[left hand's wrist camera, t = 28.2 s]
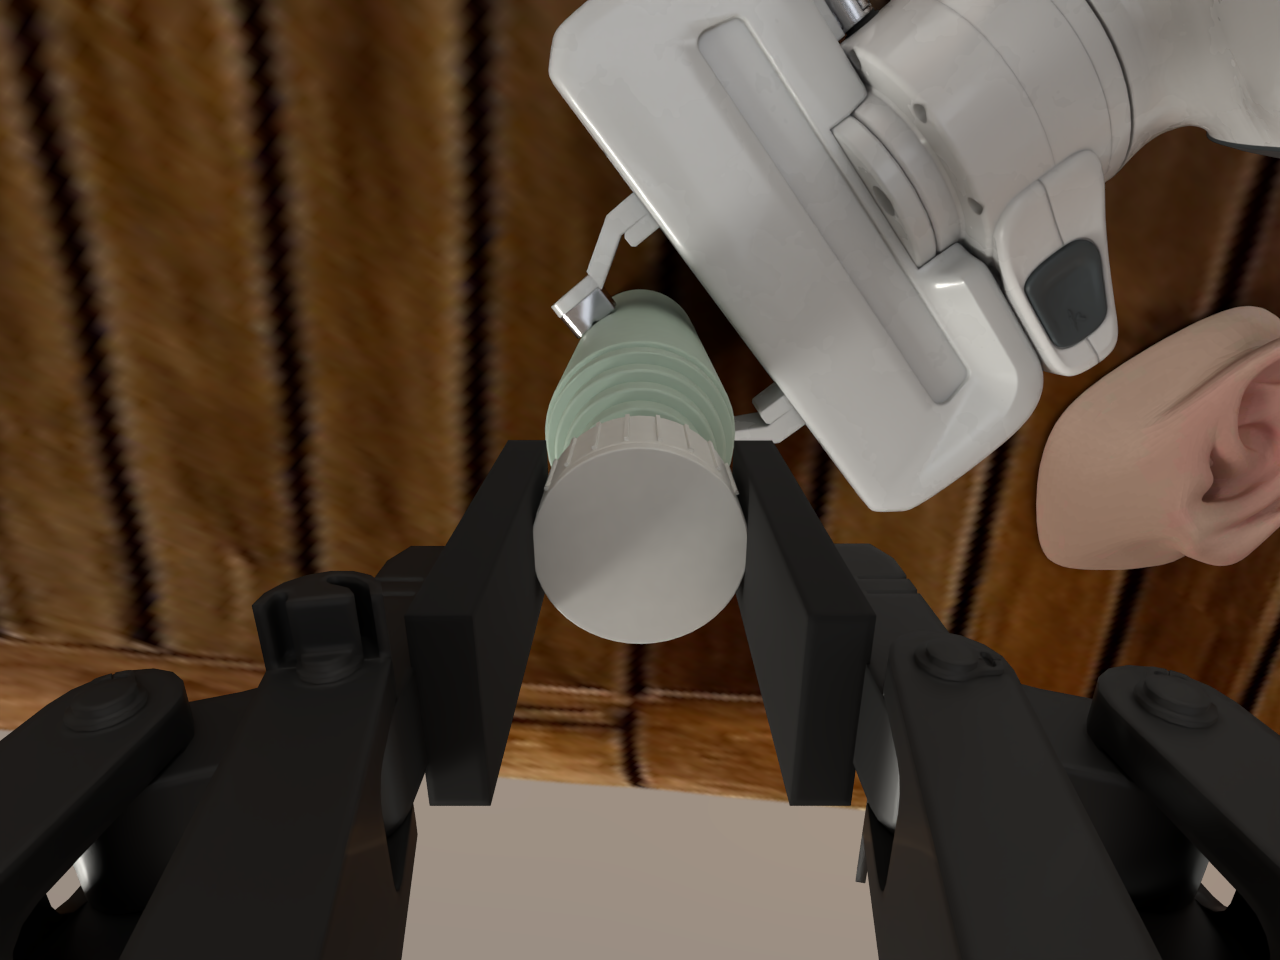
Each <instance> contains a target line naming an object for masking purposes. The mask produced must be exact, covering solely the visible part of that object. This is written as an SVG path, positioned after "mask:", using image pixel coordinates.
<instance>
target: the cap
mask: <svg viewBox="0 0 1280 960" xmlns="http://www.w3.org/2000/svg"><path fill="white" fill-rule="evenodd" d="M544 490H545V491H544V493H543V496H542V499H541V502H540V505H539V508H538V511H537V513H536V518H535V522H534V525H533V539H534V556H535V571H536V575H537V578H538V580H539V582H540V584H541V587H542V589H543V590H544V592H545V593H546V595H547V597H548V598H549V600H550V601H551V602H552V603H553V604H554V606H555V607H556V608H557V609H558V610H559V611H560V612H561V613H562V614H563V615H564V616H565V617H566V618H567V619H569V620H570V621H572V622H573V623H574V624H576V625H577V626H579V627H581V628H582V629H584V630H586V631H588V632H590V633H592V634H595V635H597V636H600V637H602V638H606V639H609V640H613V641H618V642H624V643H636V644H645V643H657V642H662V641H668V640H671V639H674V638H678V637H681V636H683V635H686V634H688V633H690V632H693V631H694V630H696V629H698V628H700V627H701V626H703V625H705V624H706V623H707V622H709V621H710V620H711V619H713V618H714V617H715V616H716V615H717V614H718V613H719V612H720V611H721V610H722V609H723V608H724V607H725V606H726V605H727V604H728V602H729V601H730V600H731V599H732V597H733V596H734V594H735V592H736V591H737V589H738V587H739V585H740V583H741V581H742V578H743V576H744V573H745V563H746V547H747V524H746V521H745V517H744V514H743V511H742V508H741V506H740V503H739V500H738V497H737V495H738V494H739V492H738V489H737V486H736V484H735V481H734V478H733V475H732V473H731V470H730V467H729V465H728V463H725V464H724V462H723V460H722V459H721V457H720V456H719V454H718V453H717V451H716V450H715V449H714V446H713V443H712V442H711V441H710V440H709V441H708V442H707V441H706V440H705V439H704V438H703V437H701V436H700V435H699V434H697V433H696V432H694V431H693V430H691V429H690V428H689V425H687V424H684V426H683V425H681V424H679V423H677V422H674V421H671V420H668V419H664V418H660V415H656V417H653V416H630V414H625V417H621V418H617V419H612V420H609V421H606V422H604V423H601V422H597V423H596V426H595V427H593V428H591V429H589V430H587V431H586V432H585V433H583V434H582V435H580V436H579V437H578V438H575V437H574V438H572V439H571V443H570V445H569V446H568V447H567V448H566V450H565V451H564V452H563V453H562V454H561V456H560V458H559V459H558V460H557V459H555V460H554V461H553V464H552V467H551V470H550V473H549V475H548V478H547V481H546V484H545V487H544Z"/></svg>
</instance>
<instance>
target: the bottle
mask: <svg viewBox="0 0 1280 960" xmlns="http://www.w3.org/2000/svg"><path fill="white" fill-rule="evenodd" d="M612 298H613V299H614V301H615V302H616V307H615V309H614V310H613V311H612V312H611V313H610V314H608V315H607V316H606V317H605V318H603V319H601V320H600V321H594V323H593V325H592V327H591V328H590V329H589V330H588V331H587V332H586V333H585V334H584V335H583V336H582V338H581V340H580V342H579V344H578V346H577V348H576V350H575V352H574V354H573V356H572V358H571V360H570V362H569V364H568V366H567V368H566V370H565V372H564V374H563V376H562V378H561V380H560V382H559V384H558V386H557V388H556V390H555V392H554V394H553V397H552V399H551V402H550V404H549V408H548V412H547V417H546V426H545V436H546V444H547V451H548V456H549V461H550V465H551V467H552V464H553V461H554V460H555V459H557V460H558V459H559V458H560V456H561V454H562V453H563V452H564V451H565V450H566V448H567V447H568V446H569V445H570V443H571V439H572V438H574V437H575V438H578V437H579V436H580V435H582V434H583V433H585V432H586V431H587V430H589V429H591V428H593V427H595V426H596V423H597V422H601V423H604V422H606V421H609V420H612V419H617V418H621V417H625V414H630V416H653V417H656V415H660V418H664V419H668V420H671V421H674V422H677V423H679V424H681V425H683V426H684V424H687V425H689V428H690V429H691V430H693V431H694V432H696V433H697V434H699V435H700V436H701V437H703V438H704V439H705V440H706V441H707V442H708V441H709V440H710V441H711V442H712V443H713V446H714V449H715V450H716V451H717V453H718V454H719V456H720V457H721V459H722V460H723V462H724V464H725V463H728V465H729V466H730V463H731V458H732V453H733V447H734V440H735V421H734V415H733V411H732V407H731V404H730V401H729V398H728V396H727V394H726V392H725V390H724V388H723V385H722V383H721V381H720V379H719V377H718V375H717V373H716V371H715V369H714V367H713V365H712V363H711V361H710V359H709V357H708V355H707V353H706V351H705V349H704V347H703V345H702V343H701V341H700V339H699V337H698V335H697V333H696V331H695V329H694V327H693V325H692V323H691V321H690V319H689V317H688V315H687V314H686V313H685V311H684V310H683V309H682V308H681V307H680V305H679V304H677V303H676V302H675V301H674V300H672V299H671V298H669V297H668V296H666V295H663V294H661V293H659V292H655V291H651V290H642V289H637V290H629V291H625V292H622V293H619V294H617V295H615V296H613V297H612Z"/></svg>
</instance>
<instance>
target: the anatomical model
mask: <svg viewBox="0 0 1280 960" xmlns="http://www.w3.org/2000/svg"><path fill="white" fill-rule="evenodd" d="M1036 512H1037V528H1038V536H1039V540H1040V544H1041V547H1042V549H1043V551H1044V553H1045V555H1046V556H1047V557H1048V558H1049V559H1050V560H1051V561H1052V562H1054V563H1056V564H1058V565H1061V566H1064V567H1068V568H1076V569H1090V570H1124V569H1135V568H1142V567H1150V566H1157V565H1163V564H1166V563H1170V562H1173V561H1175V560H1177V559H1180V558H1182V557H1184V556H1185V555H1186V556H1188V557H1190V558H1193V559H1196V560H1198V561H1201V562H1204V563H1207V564H1211V565H1217V566H1225V565H1231V564H1234V563H1237V562H1238V561H1240V560H1242V559H1244V558H1245V557H1246V556H1247V555H1249V554H1250V553H1251V552H1252V551H1253V550H1255V549H1256V548H1257V547H1258V546H1259V545H1260V544H1261V543H1262V542H1264V541H1265V540H1266V539H1267V538H1268V537H1269V536H1270V535H1271V534H1272V533H1273V532H1274V531H1275V530H1277V529H1278V528H1279V527H1280V319H1279V318H1278V317H1277V316H1275V315H1274V314H1272V313H1271V312H1269V311H1267V310H1265V309H1263V308H1259V307H1253V306H1243V307H1236V308H1232V309H1229V310H1225V311H1222V312H1219V313H1217V314H1214V315H1212V316H1210V317H1207V318H1205V319H1202V320H1200V321H1198V322H1196V323H1194V324H1192V325H1190V326H1188V327H1186V328H1184V329H1182V330H1180V331H1178V332H1176V333H1174V334H1173V335H1171V336H1169V337H1167V338H1165V339H1163V340H1162V341H1160V342H1158V343H1156V344H1154V345H1153V346H1151V347H1149V348H1148V349H1146V350H1144V351H1143V352H1141V353H1140V354H1138V355H1136V356H1135V357H1133V358H1131V359H1130V360H1128V361H1127V362H1125V363H1123V364H1122V365H1120V366H1119V367H1117V368H1116V369H1114V370H1113V371H1112V372H1110V373H1109V374H1107V375H1106V376H1104V377H1103V378H1102V379H1100V380H1099V381H1098V382H1096V383H1095V384H1094V385H1092V386H1091V387H1090V388H1088V389H1087V390H1086V391H1085V392H1083V393H1082V394H1081V395H1080V396H1079V397H1078V398H1077V399H1076V400H1075V401H1074V402H1073V403H1072V404H1071V405H1070V406H1069V407H1068V408H1067V409H1066V410H1065V411H1064V412H1063V414H1062V415H1061V416H1060V418H1059V419H1058V421H1057V422H1056V424H1055V426H1054V427H1053V429H1052V431H1051V433H1050V435H1049V437H1048V440H1047V443H1046V446H1045V448H1044V452H1043V456H1042V460H1041V463H1040V468H1039V475H1038V482H1037V500H1036Z"/></svg>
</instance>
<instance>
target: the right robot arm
mask: <svg viewBox="0 0 1280 960" xmlns="http://www.w3.org/2000/svg"><path fill="white" fill-rule="evenodd" d="M845 33H846V34H847V36H846V37H845V38H846V40H844V41H843V42H842V43H841V44H839V43H838V41H839V40H840V39H841V38H842V37H843V36H844V35H845ZM549 76H550V78H551V80H552V82H553V84H554V86H555V87H556V89H557V90H558V91H559V93H560V94H561V95H562V97H563V98H564V99H565V101H566V102H567V103H568V105H569V106H570V108H571V109H572V110H573V112H574V113H575V114H576V116H577V117H578V118H579V120H580V121H581V122H582V124H583V125H584V126H585V128H586V129H587V130H588V132H589V133H590V135H591V136H592V137H593V139H594V140H595V141H596V143H597V144H598V145H599V147H600V148H601V149H602V151H603V152H604V153H605V155H606V156H607V157H608V159H609V160H610V161H611V163H612V164H613V165H614V167H615V168H616V169H617V171H618V172H619V173H620V175H621V176H622V178H623V179H624V180H625V182H626V183H627V184H628V186H629V187H630V188H631V190H632V191H633V193H632V194H631V195H630V196H628V197H627V198H626V199H625V200H624V201H623V202H621V203H620V204H619V205H618V206H617V207H616V208H615V209H613V210H612V211H611V212H610V213H609V214H608V215H607V216H606V219H605V222H604V224H603V227H602V230H601V233H600V236H599V238H598V241H597V244H596V247H595V250H594V253H593V255H592V258H591V261H590V264H589V267H588V270H587V273H588V275H587V276H586V277H585V278H584V279H583V280H581V281H580V282H579V283H578V284H577V285H575V286H574V287H573V288H572V289H571V290H570V291H568V292H567V293H566V294H565V295H564V296H563V297H561V298H560V299H559V300H558V301H557V302H556V303H555V304H554V305H553V306H552V309H553V310H554V311H555V313H556V314H557V315H558V316H559V318H560V319H561V320H562V321H563V322H564V323H565V324H566V326H567V327H568V328H569V329H570V330H571V331H572V333H573V334H574V335H575V336H576V337H577V338H580V337H581V336H583V335H584V334H585V333H586V332H587V331H588V330H589V329H590V328H591V327H592V325H593V323H594V321H600V320H601V319H603V318H605V317H606V316H607V315H608V314H610V313H611V312H612V311H613V310H614V309H615V307H616V302H615V301H614V299H613V298H612V297H611V295H610V294H609V293H608V291H607V290H606V289H605V287H604V283H605V280H606V278H607V275H608V272H609V270H610V267H611V264H612V262H613V259H614V256H615V253H616V251H617V248H618V245H619V243H620V240H621V237H622V235H623V234H624V233H625V239H626V240H627V242H628V243H629V244H630V245H631V246H634V247H636V246H637V245H638V244H639V243H641V242H642V241H643V240H644V239H646V238H647V237H648V236H649V235H651V234H652V233H653V232H654V231H655V230H657V229H658V228H659V227H660V229H661V230H662V231H663V233H664V234H665V235H666V237H667V238H668V239H669V241H670V242H671V244H672V245H673V246H674V248H675V249H676V250H677V252H678V253H679V254H680V256H681V257H682V258H683V260H684V261H685V262H686V264H687V265H688V266H689V268H690V269H691V270H692V272H693V273H694V275H695V276H696V277H697V279H698V280H699V281H700V283H701V284H702V285H703V287H704V288H705V289H706V291H707V292H708V293H709V295H710V296H711V297H712V299H713V300H714V301H715V303H716V304H717V306H718V307H719V308H720V310H721V311H722V312H723V314H724V315H725V316H726V318H727V319H728V320H729V322H730V323H731V324H732V326H733V327H734V328H735V330H736V331H737V332H738V334H739V335H740V337H741V338H742V339H743V341H744V342H745V343H746V345H747V346H748V347H749V349H750V350H751V351H752V353H753V354H754V355H755V357H756V358H757V359H758V361H759V362H760V363H761V365H762V366H763V367H764V369H765V370H766V372H767V373H768V374H769V376H770V377H771V378H772V380H773V381H774V383H772V384H771V385H770V386H769V387H767V388H766V389H765V390H763V391H762V392H761V393H759V394H758V395H757V396H756V397H754V398H753V401H752V403H753V404H754V406H755V408H756V409H757V411H758V412H757V413H751V414H745V415H739V416H734V421H735V440H772V441H773V443H780V442H781V441H782V440H784V439H785V438H787V437H788V436H789V435H791V434H792V433H794V432H795V431H796V430H798V429H799V428H801V427H802V426H803V425H805V424H806V425H807V427H808V428H809V429H810V431H811V432H812V434H813V435H814V436H815V438H816V439H817V440H818V442H819V443H820V444H821V446H822V447H823V448H824V450H825V451H826V453H827V454H828V455H829V457H830V458H831V459H832V461H833V462H834V463H835V465H836V466H837V467H838V469H839V470H840V471H841V473H842V474H843V475H844V477H845V478H846V479H847V481H848V482H849V483H850V485H851V486H852V487H853V489H854V490H855V492H856V493H857V494H858V496H859V497H860V498H861V499H862V500H863V502H864V503H865V504H866V505H867V506H868V507H869V508H870V509H871V510H873V511H879V512H892V511H906V510H909V509H912V508H914V507H916V506H918V505H920V504H921V503H923V502H925V501H926V500H928V499H929V498H931V497H932V496H934V495H935V494H937V493H938V492H940V491H941V490H943V489H944V488H945V487H947V486H948V485H950V484H951V483H953V482H954V481H955V480H957V479H958V478H960V477H961V476H962V475H964V474H965V473H966V472H968V471H969V470H970V469H972V468H973V467H974V466H975V465H977V464H978V463H979V462H981V461H982V460H983V459H985V458H986V457H987V456H988V455H990V454H991V453H992V452H993V451H994V450H996V449H997V448H998V447H999V446H1001V445H1002V444H1003V443H1004V442H1005V441H1006V440H1008V439H1009V438H1010V437H1011V436H1012V435H1013V434H1014V433H1015V432H1016V431H1017V430H1018V429H1020V427H1021V426H1022V425H1023V424H1024V423H1025V422H1026V421H1027V419H1028V418H1029V417H1030V416H1031V414H1032V412H1033V411H1034V409H1035V408H1036V406H1037V404H1038V401H1039V399H1040V396H1041V393H1042V388H1043V371H1046V372H1050V373H1054V374H1059V375H1064V376H1074V375H1077V374H1080V373H1082V372H1084V371H1086V370H1088V369H1090V368H1091V367H1093V366H1095V365H1096V364H1098V363H1099V362H1100V361H1102V360H1103V359H1104V358H1106V357H1107V356H1108V355H1109V354H1110V353H1111V352H1112V350H1113V349H1114V347H1115V345H1116V342H1117V336H1118V325H1117V316H1116V309H1115V302H1114V296H1113V288H1112V281H1111V273H1110V265H1109V256H1108V246H1107V235H1106V218H1105V182H1106V181H1108V180H1109V179H1111V178H1112V177H1113V176H1115V175H1116V174H1117V173H1118V172H1119V171H1120V169H1121V168H1122V167H1123V166H1124V165H1125V164H1126V163H1127V162H1128V161H1129V160H1130V159H1131V158H1132V157H1133V156H1134V155H1135V153H1137V152H1138V151H1139V150H1140V149H1141V148H1142V147H1143V146H1144V145H1145V144H1146V143H1148V142H1149V141H1151V140H1152V139H1154V138H1155V137H1157V136H1159V135H1160V134H1162V133H1165V132H1167V131H1170V130H1173V129H1176V128H1179V127H1183V126H1197V127H1201V128H1203V129H1205V130H1206V131H1207V137H1208V139H1210V140H1211V141H1213V142H1215V143H1218V144H1221V145H1224V146H1228V147H1231V148H1235V149H1238V150H1242V151H1246V152H1251V153H1255V154H1260V155H1266V156H1271V157H1276V158H1280V0H891V1H890V2H889V3H888V4H887V5H885V6H884V7H883V8H882V9H881V10H880V11H878V10H876V11H875V10H874V8H873V7H872V6H871V4H870V2H869V0H588V1H586V2H585V3H584V4H583V5H582V6H581V7H579V8H578V9H577V10H576V11H575V12H574V13H573V14H571V15H570V16H569V17H568V18H567V19H566V20H565V21H564V22H563V23H562V24H561V25H560V26H559V28H558V29H557V30H556V32H555V34H554V37H553V41H552V46H551V53H550V61H549ZM733 448H734V447H733Z"/></svg>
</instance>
